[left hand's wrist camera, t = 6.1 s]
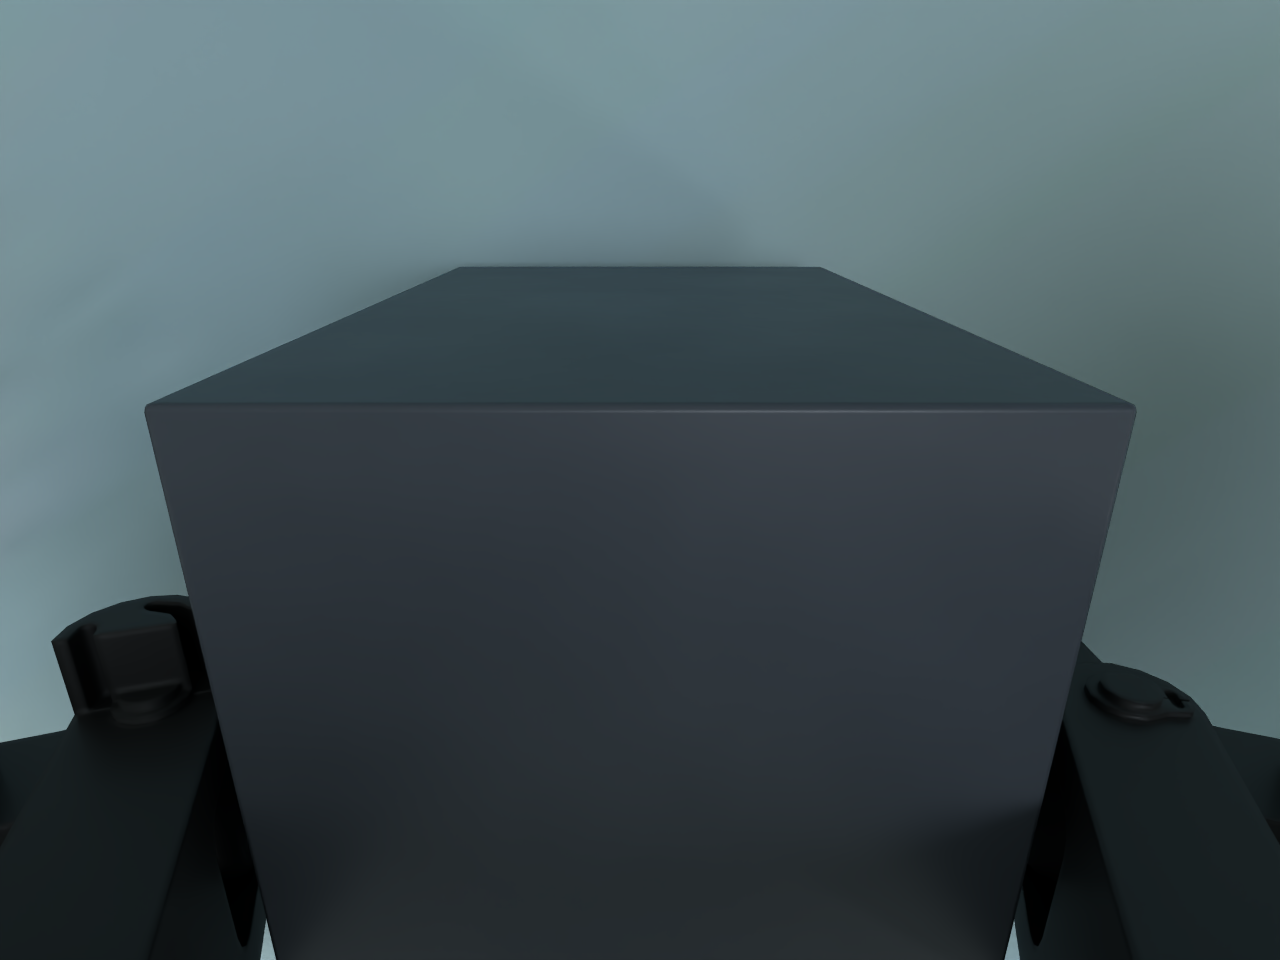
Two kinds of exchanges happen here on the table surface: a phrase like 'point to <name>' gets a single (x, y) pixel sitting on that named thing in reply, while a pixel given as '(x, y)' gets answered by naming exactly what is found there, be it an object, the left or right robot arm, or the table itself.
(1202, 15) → the table surface
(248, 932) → the left robot arm
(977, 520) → the box
